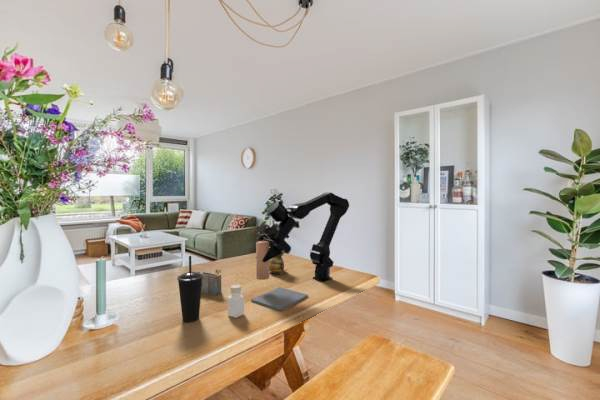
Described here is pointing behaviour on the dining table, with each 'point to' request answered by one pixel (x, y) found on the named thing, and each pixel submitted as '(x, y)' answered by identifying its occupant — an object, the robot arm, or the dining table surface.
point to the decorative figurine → (276, 264)
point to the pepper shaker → (235, 302)
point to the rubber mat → (279, 298)
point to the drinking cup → (190, 294)
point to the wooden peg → (261, 266)
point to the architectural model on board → (211, 283)
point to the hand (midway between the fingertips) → (259, 260)
